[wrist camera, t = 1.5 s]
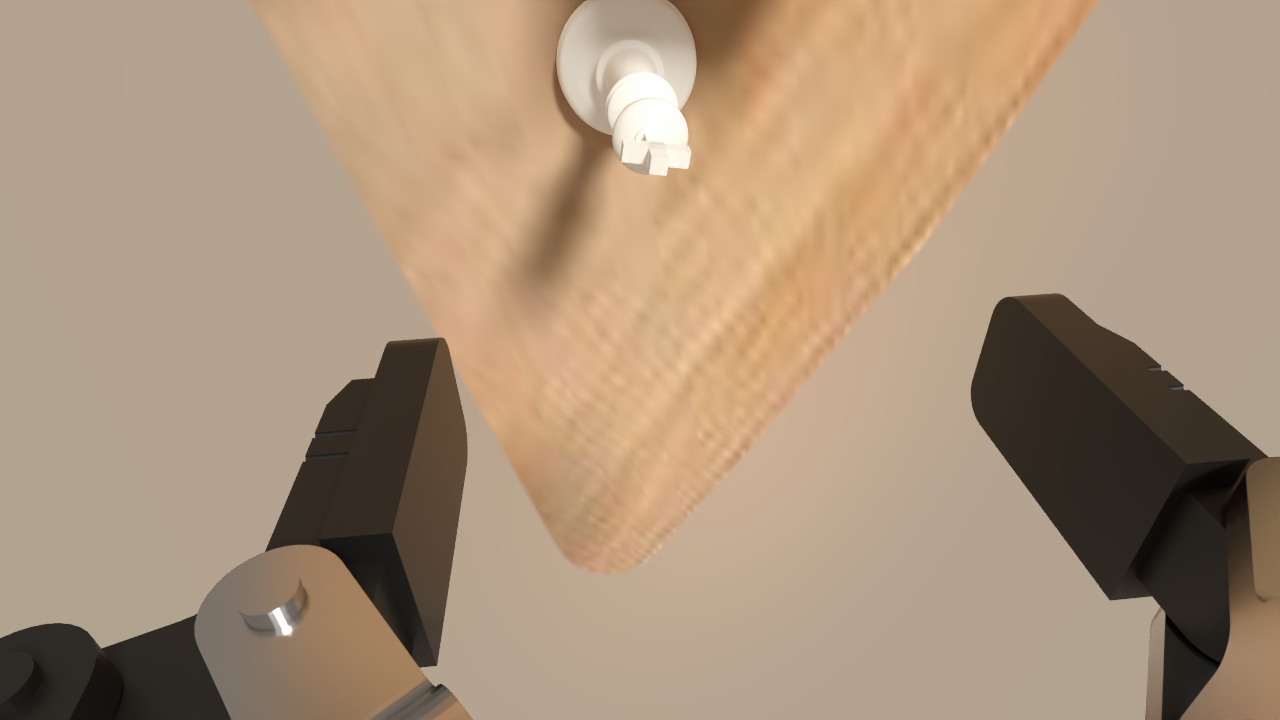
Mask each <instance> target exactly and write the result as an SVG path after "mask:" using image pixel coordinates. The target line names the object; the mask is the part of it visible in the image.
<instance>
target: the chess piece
mask: <svg viewBox="0 0 1280 720" xmlns="http://www.w3.org/2000/svg"><path fill="white" fill-rule="evenodd" d="M696 66H697V61H696V48H695V43H694V39H693V35H692V33H691V30H690V28H689V26H688V24H687V22H686V20H685V19H684V17H683V16H682V14H681V13H680V12H679V10H678V9H677V8H676V7H675V6H674V5H673V4H672V3H671V2H669V1H668V0H586V1H584V2H583V3H582V4H581V5H580V6H579V7H578V8H577V9H576V10H575V11H574V12H573V13H572V15H571V16H570V18H569V19H568V21H567V22H566V24H565V26H564V28H563V30H562V33H561V36H560V39H559V43H558V47H557V55H556V67H557V75H558V80H559V83H560V86H561V89H562V92H563V94H564V96H565V98H566V100H567V101H568V103H569V104H570V106H571V107H572V109H573V110H574V112H575V113H576V114H577V115H578V116H579V117H580V118H581V119H582V120H583V121H584V122H585V123H587V124H588V125H589V126H591V127H593V128H594V129H596V130H598V131H600V132H603V133H605V134H608V135H612V143H613V148H614V151H615V153H616V155H617V157H618V159H619V160H620V161H621V162H622V164H623V165H625V166H626V167H627V168H628V169H630V170H632V171H634V172H636V173H640V174H646V175H652V174H654V175H664V176H667V171H668V169H670V168H671V167H674V168H683V169H688V167H689V161H690V156H691V150H690V148H689V146H687V142H688V128H687V124H686V121H685V119H684V117H683V115H682V113H681V112H680V110H681V109H682V108H683V106H684V105H685V103H686V101H687V100H688V98H689V96H690V93H691V91H692V88H693V85H694V81H695V76H696Z"/></svg>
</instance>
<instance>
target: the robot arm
mask: <svg viewBox="0 0 1280 720" xmlns="http://www.w3.org/2000/svg"><path fill="white" fill-rule="evenodd" d="M971 401H972V407H973V411H974V414H975V416H976V418H977V420H978V422H979V424H980V425H981V427H982V428H983V429H984V431H985V432H986V433H987V435H988V436H989V437H990V439H991V440H992V441H993V443H994V444H995V445H996V447H997V448H998V450H999V451H1000V452H1001V454H1002V455H1003V456H1004V458H1005V459H1006V460H1007V462H1008V463H1009V465H1010V466H1011V467H1012V468H1013V470H1014V471H1015V473H1016V474H1017V475H1018V477H1019V478H1020V479H1021V481H1022V482H1023V483H1024V485H1025V486H1026V487H1027V489H1028V490H1029V491H1030V493H1031V494H1032V496H1033V497H1034V498H1035V500H1036V501H1037V502H1038V504H1039V505H1040V506H1041V508H1042V509H1043V510H1044V512H1045V513H1046V515H1047V516H1048V517H1049V519H1050V520H1051V521H1052V523H1053V524H1054V525H1055V527H1056V528H1057V529H1058V530H1059V532H1060V534H1061V535H1062V536H1063V537H1064V539H1065V540H1066V541H1067V543H1068V544H1069V546H1070V547H1071V548H1072V549H1073V551H1074V552H1075V554H1076V555H1077V556H1078V558H1079V559H1080V561H1081V562H1082V563H1083V565H1084V566H1085V567H1086V569H1087V570H1088V571H1089V573H1090V574H1091V575H1092V577H1093V578H1094V579H1095V581H1096V582H1097V583H1098V585H1099V586H1100V588H1101V589H1102V590H1103V592H1104V593H1105V594H1106V596H1107V597H1108V598H1109V600H1118V599H1129V598H1139V597H1148V596H1153V598H1154V599H1155V600H1156V601H1157V603H1158V604H1159V605H1160V606H1161V607H1160V608H1159V610H1158V612H1157V613H1156V615H1155V617H1154V618H1153V620H1152V622H1151V627H1150V643H1149V661H1148V679H1147V697H1146V716H1145V720H1280V457H1268V456H1267V455H1265V454H1264V453H1263V452H1262V451H1261V450H1260V449H1258V448H1257V447H1256V446H1255V445H1254V444H1252V443H1251V442H1250V441H1249V440H1247V438H1245V437H1244V436H1243V435H1242V434H1241V433H1240V432H1238V431H1237V430H1236V429H1235V428H1234V427H1233V426H1231V425H1230V424H1229V423H1228V422H1227V421H1225V420H1224V419H1223V418H1222V417H1221V416H1220V415H1218V414H1217V413H1216V412H1215V411H1214V410H1213V409H1211V408H1210V407H1209V406H1208V405H1207V404H1205V403H1204V402H1203V401H1202V400H1201V399H1200V398H1198V397H1197V396H1196V395H1195V394H1194V393H1192V392H1191V391H1190V390H1184V388H1183V384H1182V383H1181V382H1179V381H1178V380H1177V379H1176V378H1175V377H1174V376H1172V375H1171V374H1170V373H1169V372H1168V371H1161V365H1160V364H1158V363H1157V362H1156V361H1155V360H1154V359H1152V358H1151V357H1150V356H1149V355H1148V354H1147V353H1145V352H1144V351H1143V350H1142V349H1141V348H1139V347H1138V346H1137V345H1136V344H1135V343H1133V342H1131V341H1129V340H1127V339H1125V338H1123V337H1121V336H1120V335H1117V334H1116V333H1113V332H1112V331H1110V330H1107V329H1106V328H1103V327H1102V326H1100V325H1098V324H1096V323H1095V322H1094V321H1093V320H1092V319H1091V318H1090V317H1088V316H1087V315H1086V314H1085V313H1084V312H1083V311H1082V310H1080V309H1079V308H1078V307H1077V306H1076V305H1075V304H1074V303H1072V302H1071V301H1070V300H1069V299H1068V298H1066V297H1065V296H1064V295H1061V294H1056V293H1055V294H1042V295H1028V296H1014V297H1006V298H1003V299H1002V300H1000V301H999V302H998V304H997V305H996V307H995V309H994V311H993V314H992V317H991V321H990V324H989V327H988V331H987V334H986V337H985V340H984V344H983V347H982V350H981V354H980V357H979V360H978V364H977V367H976V370H975V374H974V377H973V380H972V385H971ZM315 435H316V436H315V438H313V439H312V441H311V444H310V446H309V448H308V451H307V453H306V456H305V457H306V462H303V463H302V465H301V468H300V470H299V472H298V475H297V477H296V479H295V482H294V484H293V486H292V489H291V491H290V494H289V496H288V499H287V501H286V503H285V506H284V508H283V510H282V513H281V515H280V517H279V520H278V522H277V525H276V527H275V529H274V532H273V534H272V537H271V539H270V541H269V544H268V546H267V549H266V551H265V552H264V553H261V554H259V555H257V556H255V557H253V558H251V559H249V560H247V561H245V562H244V563H242V564H241V565H239V566H237V567H236V568H235V569H233V570H232V571H231V572H229V573H228V574H227V575H226V576H224V577H223V578H222V579H221V580H220V581H219V582H218V583H217V584H216V585H215V586H214V588H213V589H212V590H211V591H210V593H209V594H208V595H207V597H206V598H205V600H204V601H203V603H202V604H201V607H200V609H199V612H198V614H196V615H194V616H192V617H189V618H187V619H184V620H182V621H180V622H177V623H174V624H171V625H168V626H165V627H162V628H159V629H156V630H154V631H151V632H148V633H145V634H142V635H139V636H137V637H134V638H131V639H128V640H125V641H122V642H119V643H116V644H114V645H111V646H108V647H105V648H102V649H101V648H100V647H99V646H98V644H97V643H96V642H95V640H94V639H93V638H92V637H91V636H90V634H89V633H88V632H87V631H85V630H84V629H82V628H80V627H77V626H74V625H71V624H61V623H54V624H44V625H39V626H34V627H30V628H27V629H23V630H20V631H17V632H14V633H12V634H10V635H7V636H5V637H2V638H0V720H473V719H472V718H471V716H470V715H469V714H468V712H467V711H466V710H465V708H464V707H463V706H462V704H461V703H460V702H459V701H458V699H457V698H456V697H455V696H454V695H453V693H452V692H450V690H449V689H447V688H446V687H445V686H444V685H442V684H440V685H438V686H436V687H435V686H434V685H432V683H431V682H430V681H429V680H428V679H427V677H426V676H425V675H424V673H423V672H422V671H421V669H420V668H419V667H428V666H437V662H438V655H439V648H440V642H441V635H442V628H443V622H444V615H445V608H446V601H447V595H448V588H449V581H450V574H451V568H452V561H453V554H454V548H455V540H456V534H457V527H458V521H459V514H460V507H461V500H462V493H463V487H464V480H465V474H466V467H467V433H466V426H465V420H464V415H463V411H462V406H461V402H460V397H459V393H458V388H457V384H456V379H455V375H454V370H453V366H452V361H451V357H450V352H449V348H448V345H447V343H446V341H445V339H444V338H428V339H415V340H402V341H390V342H388V343H387V345H386V347H385V350H384V352H383V355H382V359H381V361H380V364H379V367H378V370H377V373H376V375H375V378H371V379H358V380H352V381H351V382H350V383H348V384H347V385H346V386H345V388H343V389H342V390H341V391H340V392H339V393H338V394H337V395H336V396H335V397H334V398H333V399H332V400H331V401H330V402H329V403H328V404H327V405H326V408H325V410H324V412H323V415H322V417H321V420H320V422H319V424H318V427H317V429H316V432H315Z"/></svg>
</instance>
